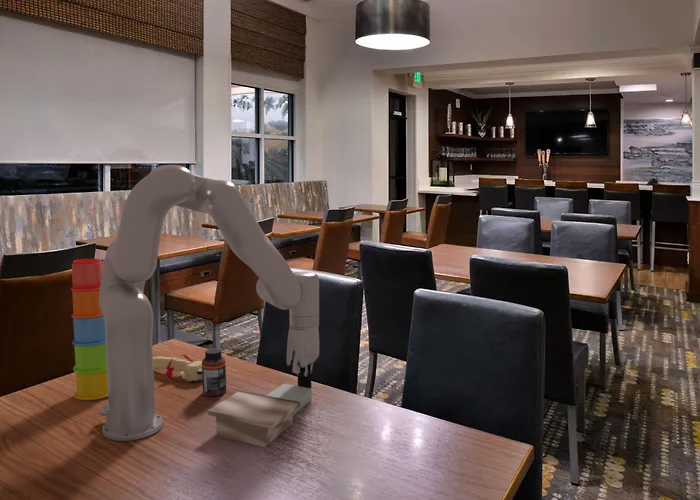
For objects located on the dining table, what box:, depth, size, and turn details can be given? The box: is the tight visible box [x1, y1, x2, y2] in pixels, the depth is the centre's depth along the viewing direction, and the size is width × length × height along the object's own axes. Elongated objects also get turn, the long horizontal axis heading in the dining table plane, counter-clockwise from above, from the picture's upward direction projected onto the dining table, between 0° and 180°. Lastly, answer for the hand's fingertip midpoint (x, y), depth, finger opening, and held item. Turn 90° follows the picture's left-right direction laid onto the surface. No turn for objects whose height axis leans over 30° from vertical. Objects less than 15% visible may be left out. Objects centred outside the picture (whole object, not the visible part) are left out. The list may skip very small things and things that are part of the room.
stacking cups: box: [70, 258, 108, 401], centre depth 141 cm, size 10×10×35 cm
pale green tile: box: [266, 383, 312, 417], centre depth 137 cm, size 8×12×3 cm, turn 157°
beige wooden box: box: [207, 390, 300, 448], centre depth 124 cm, size 12×16×6 cm
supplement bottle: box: [201, 347, 227, 397], centre depth 144 cm, size 6×6×11 cm
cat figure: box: [153, 354, 202, 382], centre depth 157 cm, size 10×9×25 cm
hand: (304, 388), depth 146 cm, fingers closed
